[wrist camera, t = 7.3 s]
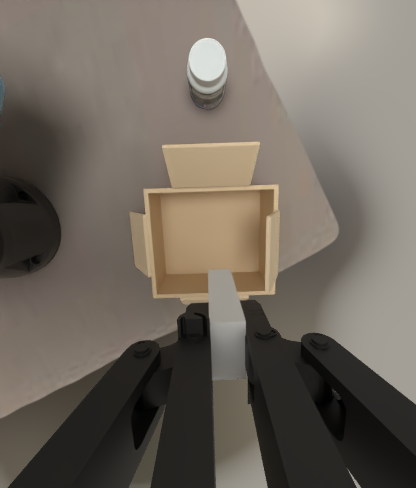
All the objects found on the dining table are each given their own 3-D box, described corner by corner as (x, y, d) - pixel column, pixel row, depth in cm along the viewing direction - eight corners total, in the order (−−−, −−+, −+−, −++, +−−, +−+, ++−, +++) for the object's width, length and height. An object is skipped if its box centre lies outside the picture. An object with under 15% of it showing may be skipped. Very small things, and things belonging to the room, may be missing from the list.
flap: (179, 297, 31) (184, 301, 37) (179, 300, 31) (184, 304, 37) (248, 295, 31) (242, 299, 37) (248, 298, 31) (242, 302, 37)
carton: (163, 277, 39) (153, 299, 31) (157, 189, 36) (143, 189, 28) (261, 273, 39) (274, 294, 31) (262, 185, 36) (278, 184, 28)
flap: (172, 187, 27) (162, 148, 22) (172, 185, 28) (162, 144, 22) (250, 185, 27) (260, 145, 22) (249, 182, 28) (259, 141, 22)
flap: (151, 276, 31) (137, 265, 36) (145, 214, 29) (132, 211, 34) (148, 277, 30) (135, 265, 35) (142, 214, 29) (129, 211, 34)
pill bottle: (196, 66, 32) (192, 25, 24) (228, 79, 33) (236, 42, 25) (185, 103, 33) (179, 75, 25) (217, 114, 34) (221, 91, 26)
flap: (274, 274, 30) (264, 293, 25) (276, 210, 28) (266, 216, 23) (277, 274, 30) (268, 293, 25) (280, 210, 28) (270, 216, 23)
